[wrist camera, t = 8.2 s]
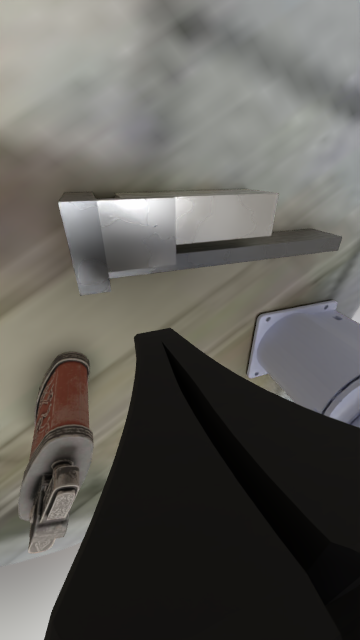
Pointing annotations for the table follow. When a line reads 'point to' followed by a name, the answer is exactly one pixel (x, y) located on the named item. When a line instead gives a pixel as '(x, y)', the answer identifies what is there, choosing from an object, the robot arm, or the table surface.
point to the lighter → (57, 450)
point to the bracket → (159, 240)
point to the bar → (219, 213)
